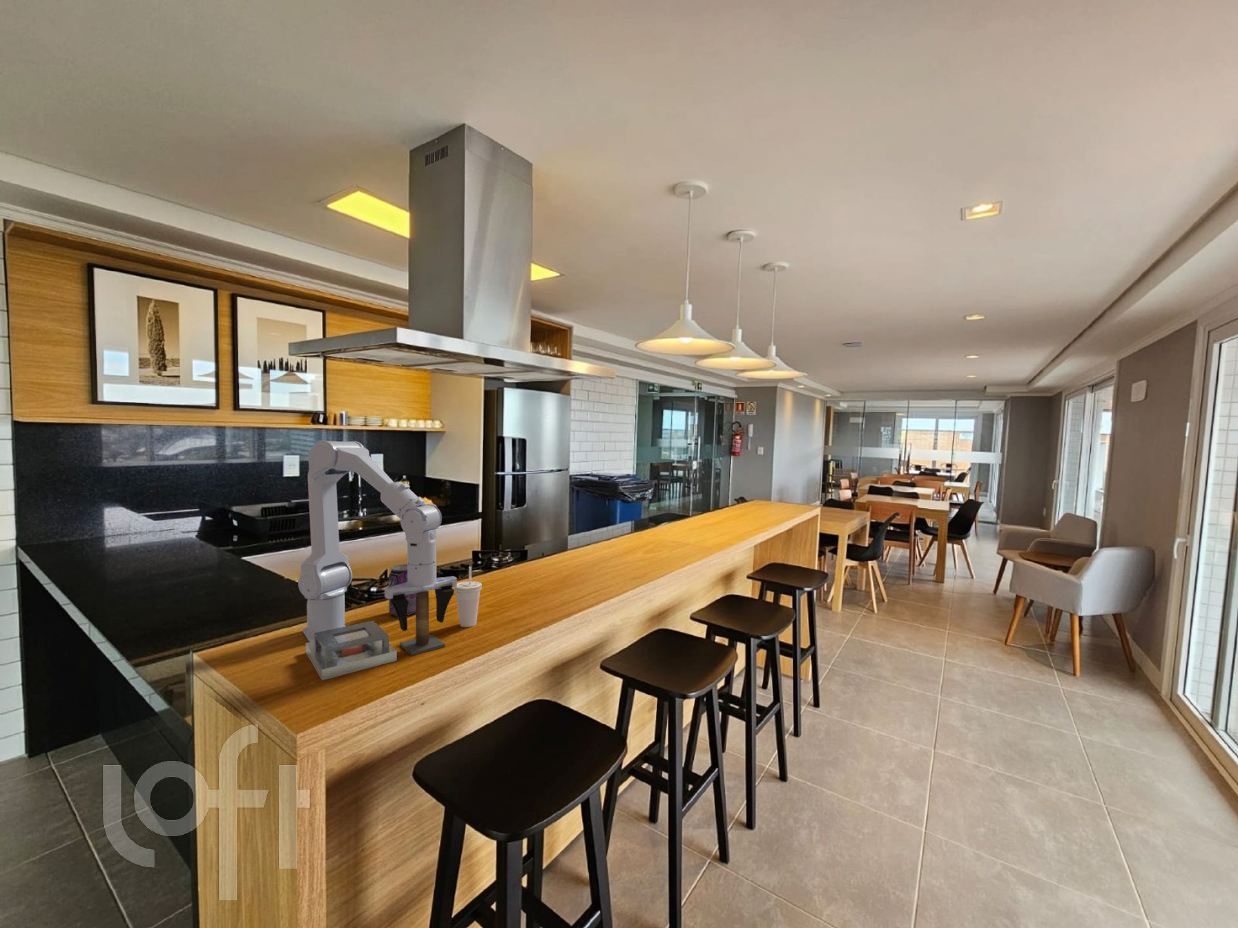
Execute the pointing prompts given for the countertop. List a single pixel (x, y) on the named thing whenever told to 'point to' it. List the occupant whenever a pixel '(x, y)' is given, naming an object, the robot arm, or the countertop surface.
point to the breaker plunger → (351, 651)
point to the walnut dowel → (422, 618)
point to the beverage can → (399, 577)
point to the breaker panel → (350, 660)
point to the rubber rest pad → (415, 649)
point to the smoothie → (468, 601)
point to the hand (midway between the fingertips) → (422, 625)
